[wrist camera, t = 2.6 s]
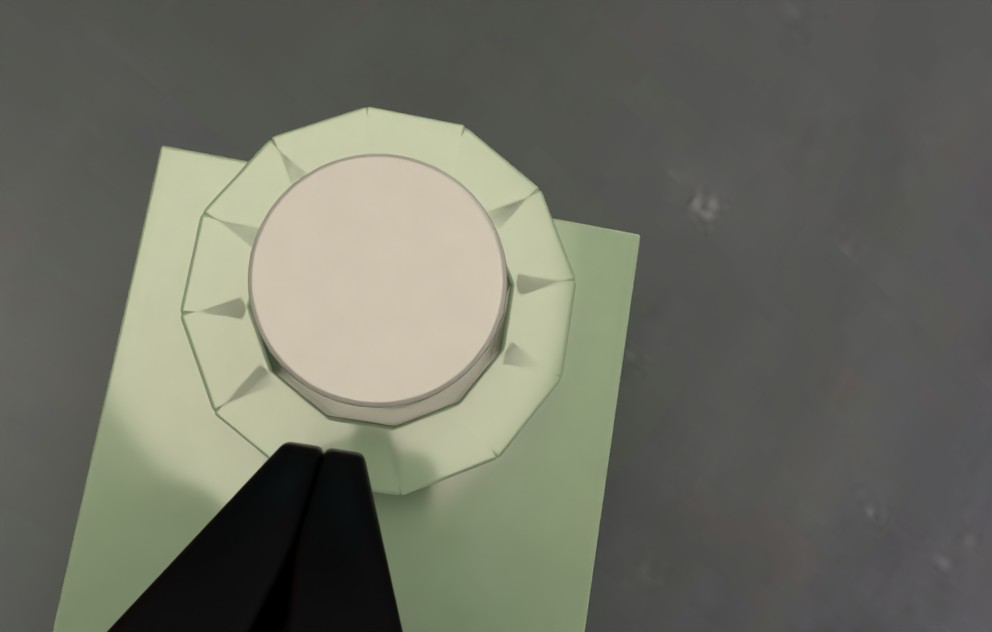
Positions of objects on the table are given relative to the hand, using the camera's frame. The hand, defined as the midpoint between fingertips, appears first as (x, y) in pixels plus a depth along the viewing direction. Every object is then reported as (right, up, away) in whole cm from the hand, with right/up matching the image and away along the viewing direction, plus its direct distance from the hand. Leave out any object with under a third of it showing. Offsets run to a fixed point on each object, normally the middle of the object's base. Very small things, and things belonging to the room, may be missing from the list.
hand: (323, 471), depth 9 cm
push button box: (-1, -2, +12) cm, 13 cm away
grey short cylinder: (0, +2, +6) cm, 7 cm away
